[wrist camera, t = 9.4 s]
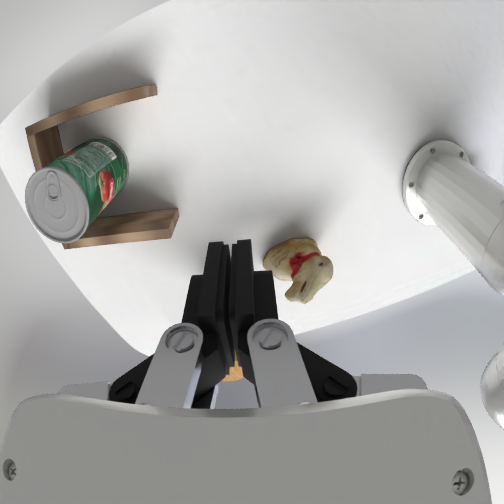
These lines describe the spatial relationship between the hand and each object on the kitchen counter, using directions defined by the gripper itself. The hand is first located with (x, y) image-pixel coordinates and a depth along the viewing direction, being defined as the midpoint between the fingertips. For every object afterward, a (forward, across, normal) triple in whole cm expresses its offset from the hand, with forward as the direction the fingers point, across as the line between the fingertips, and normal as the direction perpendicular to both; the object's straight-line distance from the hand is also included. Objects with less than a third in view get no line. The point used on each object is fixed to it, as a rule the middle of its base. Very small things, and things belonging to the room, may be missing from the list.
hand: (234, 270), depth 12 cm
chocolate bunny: (+22, -6, +15) cm, 27 cm away
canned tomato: (+22, +17, 0) cm, 28 cm away
